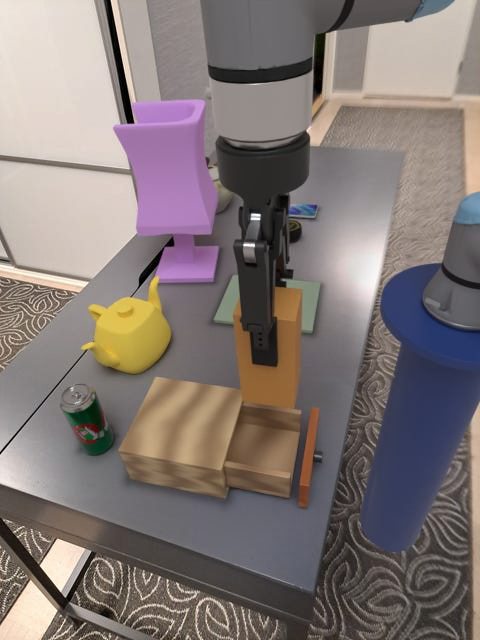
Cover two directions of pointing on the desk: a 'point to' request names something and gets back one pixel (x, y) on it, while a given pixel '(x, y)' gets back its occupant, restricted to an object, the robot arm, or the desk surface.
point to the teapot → (130, 332)
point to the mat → (308, 288)
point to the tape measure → (294, 230)
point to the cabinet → (183, 436)
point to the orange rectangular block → (284, 379)
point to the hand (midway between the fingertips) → (270, 343)
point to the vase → (173, 184)
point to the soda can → (86, 418)
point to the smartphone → (303, 210)
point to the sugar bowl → (219, 187)
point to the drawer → (271, 451)
